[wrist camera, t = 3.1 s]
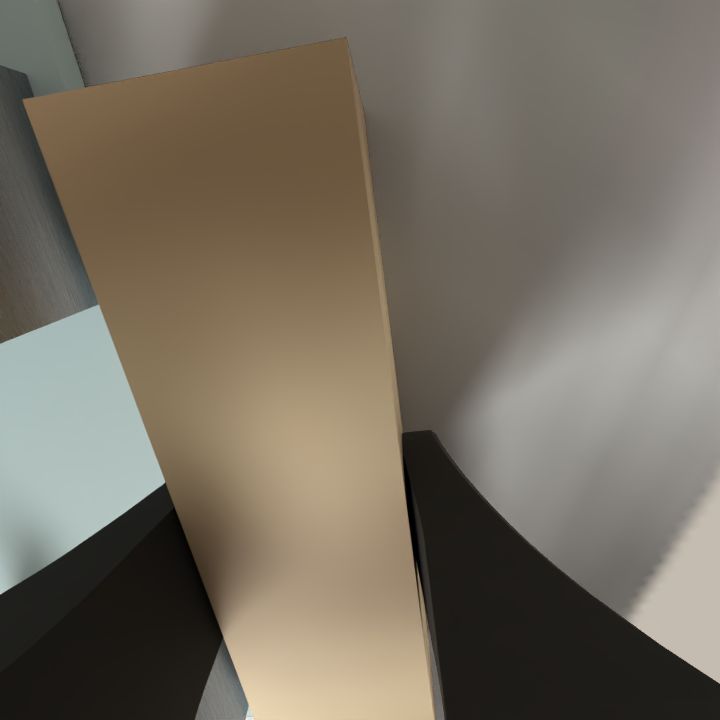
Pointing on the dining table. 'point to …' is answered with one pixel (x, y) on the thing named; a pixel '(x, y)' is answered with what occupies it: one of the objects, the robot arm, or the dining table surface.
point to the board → (61, 379)
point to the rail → (260, 360)
